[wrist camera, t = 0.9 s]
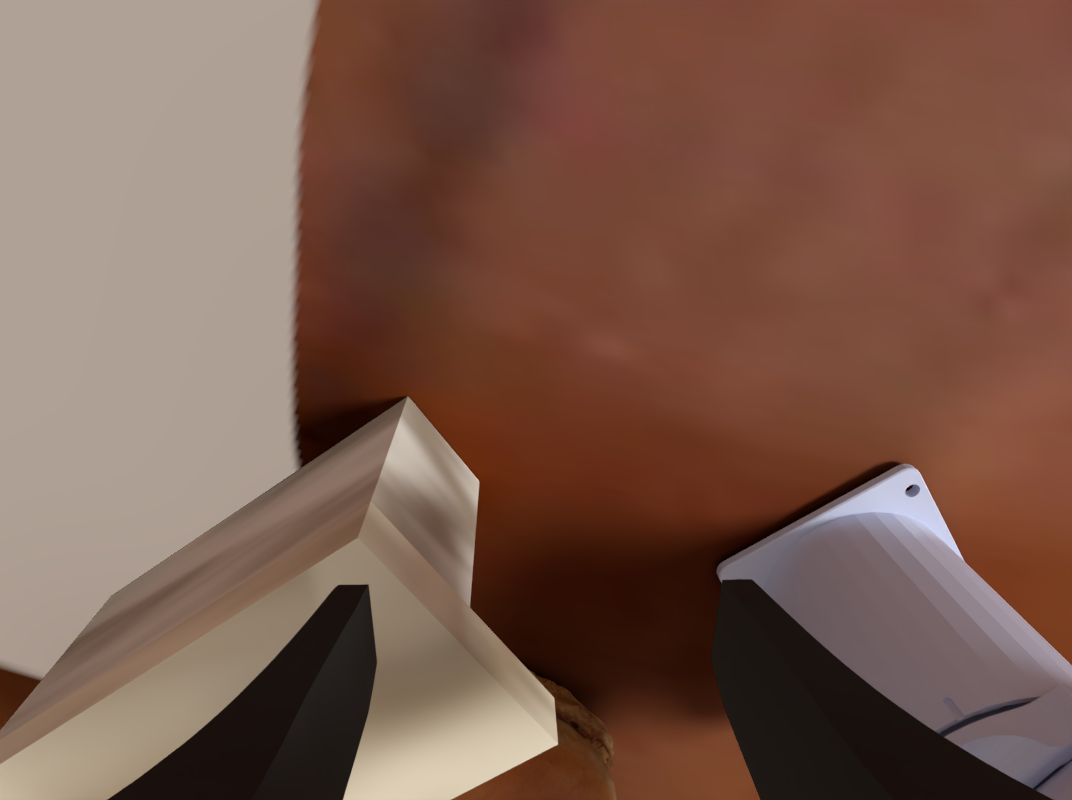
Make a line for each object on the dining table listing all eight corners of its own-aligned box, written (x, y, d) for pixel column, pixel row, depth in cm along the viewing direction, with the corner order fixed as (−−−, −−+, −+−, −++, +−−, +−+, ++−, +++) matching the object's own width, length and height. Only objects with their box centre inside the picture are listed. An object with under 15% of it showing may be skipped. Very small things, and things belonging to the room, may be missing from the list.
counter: (542, 556, 25) (558, 744, 17) (263, 720, 27) (173, 943, 20) (408, 396, 22) (357, 537, 14) (111, 596, 24) (-59, 800, 17)
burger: (439, 635, 26) (427, 738, 22) (647, 695, 28) (673, 801, 24) (364, 792, 29) (340, 908, 25) (553, 837, 31) (561, 951, 27)
